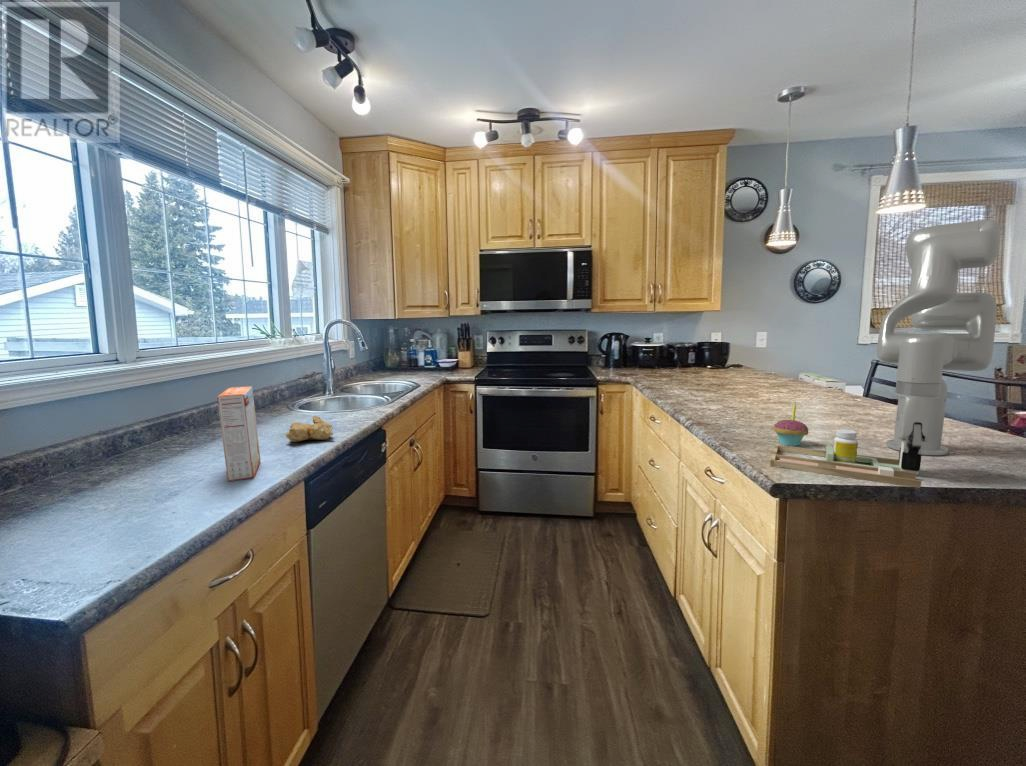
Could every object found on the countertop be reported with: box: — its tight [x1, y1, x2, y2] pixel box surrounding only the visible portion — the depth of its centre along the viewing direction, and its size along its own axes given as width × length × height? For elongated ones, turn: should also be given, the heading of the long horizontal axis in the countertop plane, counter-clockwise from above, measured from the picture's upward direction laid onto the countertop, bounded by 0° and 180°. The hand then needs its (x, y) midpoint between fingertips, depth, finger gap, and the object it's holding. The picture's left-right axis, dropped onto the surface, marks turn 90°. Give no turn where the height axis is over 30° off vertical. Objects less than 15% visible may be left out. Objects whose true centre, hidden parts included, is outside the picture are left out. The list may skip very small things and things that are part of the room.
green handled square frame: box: [825, 440, 919, 476], centre depth 107 cm, size 9×17×7 cm, turn 56°
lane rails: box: [769, 444, 922, 489], centre depth 109 cm, size 16×28×2 cm, turn 56°
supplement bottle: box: [832, 428, 859, 464], centre depth 110 cm, size 5×5×8 cm
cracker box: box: [216, 386, 261, 482], centre depth 111 cm, size 14×6×21 cm, turn 23°
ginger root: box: [285, 415, 334, 443], centre depth 142 cm, size 16×16×8 cm
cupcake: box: [773, 402, 809, 447], centre depth 128 cm, size 9×8×12 cm
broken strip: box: [780, 458, 894, 476], centre depth 105 cm, size 4×22×2 cm, turn 56°
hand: (908, 466), depth 104 cm, fingers closed on green handled square frame, 3 cm apart
